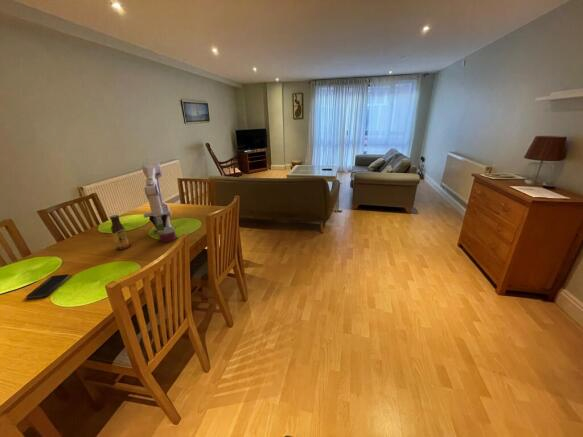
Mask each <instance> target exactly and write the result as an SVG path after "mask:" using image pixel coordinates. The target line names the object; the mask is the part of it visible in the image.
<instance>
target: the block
mask: <svg viewBox="0 0 583 437" xmlns="http://www.w3.org/2000/svg"><path fill="white" fill-rule="evenodd" d="M156 228H157V231H156V232H158V231H163V230H165V229H166V227H164V225H163V222H157V224H156Z"/></svg>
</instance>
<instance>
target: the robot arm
mask: <svg viewBox="0 0 583 437" xmlns="http://www.w3.org/2000/svg"><path fill="white" fill-rule="evenodd" d="M141 169H142V173H143V174H144V176H145V177H146V179H145V187H144V189H143V190H144V195H145V196H146V199H147V201H148V204H149V208H150V212H145V213H144V214H143V218H144V219H145V218H148V221H150V222H151V223H152V224H153V226H154V228H155V229H154V231H155V232H158V231H157V228H156V224H157V222H163V225H164V227H173V228H175V226H172V224H171V221H170V216H172V215H173V213H172V211H171V209H170V207H169V204H168V203H166V202H164V200H163V199H164V198H163V194H162V190H161V183H160V178H161V177H162V176H163V172H162V167H161V164H160V162H154V163H142V164H141Z"/></svg>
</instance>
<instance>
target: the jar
mask: <svg viewBox="0 0 583 437" xmlns="http://www.w3.org/2000/svg"><path fill="white" fill-rule="evenodd" d="M173 227H174V226H172V227H166V229H165V230H163V231H157V235H158V238H159V241H160V242H161V243H170V242H172V241H175V240H176V239H177V235H176V229H175V227H174V228H173Z"/></svg>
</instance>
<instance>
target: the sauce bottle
mask: <svg viewBox="0 0 583 437" xmlns="http://www.w3.org/2000/svg"><path fill="white" fill-rule="evenodd" d="M109 219H110V221H111V227H110V230H111V235H112V238H113V240H114V244H115V247H116V249H117V250H125V249H128V248H129V247H130V242H129V239H128V235H127V231H126V228H125V227H124V225H123V224H122V223H121V220H120V215H119V214H113V215H110V216H109Z"/></svg>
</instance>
